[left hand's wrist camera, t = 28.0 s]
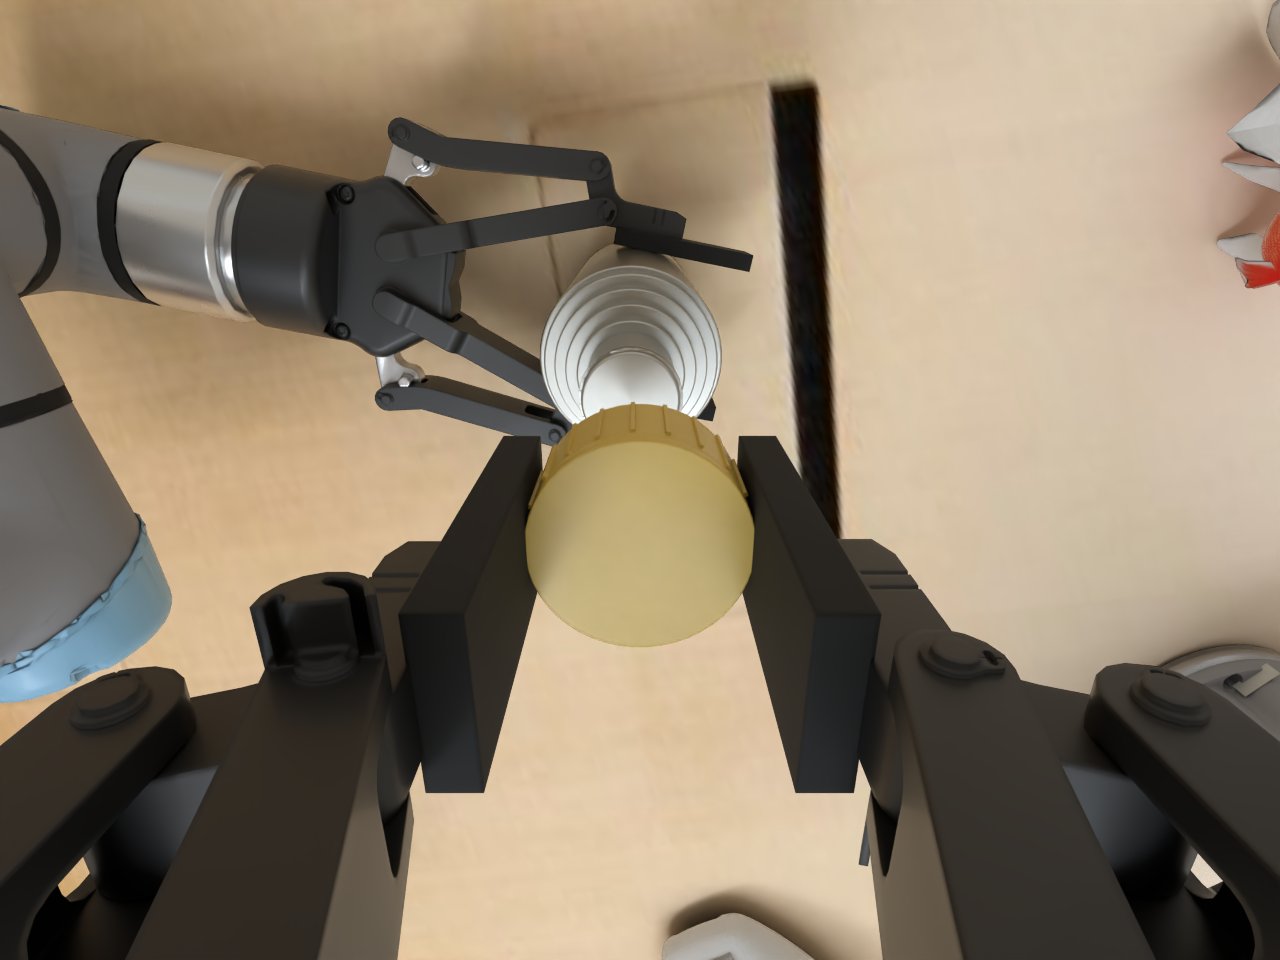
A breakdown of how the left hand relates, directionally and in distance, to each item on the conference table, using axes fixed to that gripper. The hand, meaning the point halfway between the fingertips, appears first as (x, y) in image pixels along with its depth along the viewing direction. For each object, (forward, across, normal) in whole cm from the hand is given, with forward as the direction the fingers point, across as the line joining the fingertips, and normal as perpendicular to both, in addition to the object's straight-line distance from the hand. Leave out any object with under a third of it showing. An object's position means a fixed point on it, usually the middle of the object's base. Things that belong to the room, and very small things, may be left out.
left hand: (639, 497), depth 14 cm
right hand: (+22, -4, 0) cm, 22 cm away
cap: (-2, 0, 0) cm, 2 cm away
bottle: (+28, 0, -1) cm, 28 cm away
